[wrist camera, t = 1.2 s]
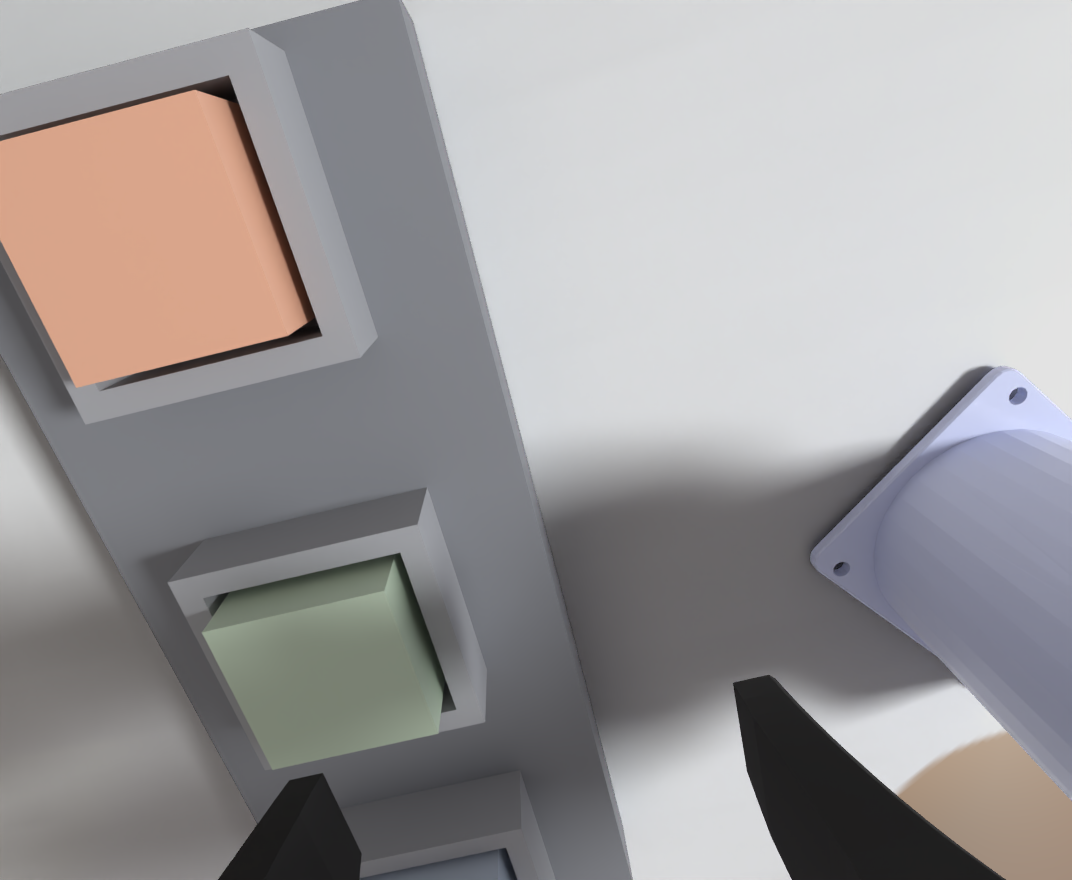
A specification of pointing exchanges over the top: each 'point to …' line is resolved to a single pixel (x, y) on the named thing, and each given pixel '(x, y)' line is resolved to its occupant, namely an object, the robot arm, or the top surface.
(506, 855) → the slate button
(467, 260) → the button panel
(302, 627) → the sage button
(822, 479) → the top surface
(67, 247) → the terracotta button
